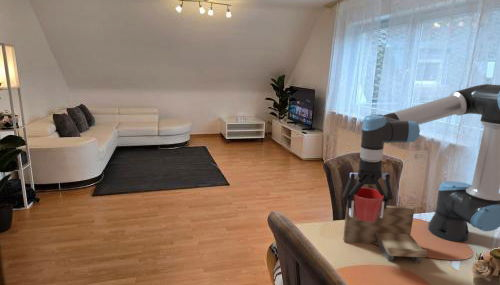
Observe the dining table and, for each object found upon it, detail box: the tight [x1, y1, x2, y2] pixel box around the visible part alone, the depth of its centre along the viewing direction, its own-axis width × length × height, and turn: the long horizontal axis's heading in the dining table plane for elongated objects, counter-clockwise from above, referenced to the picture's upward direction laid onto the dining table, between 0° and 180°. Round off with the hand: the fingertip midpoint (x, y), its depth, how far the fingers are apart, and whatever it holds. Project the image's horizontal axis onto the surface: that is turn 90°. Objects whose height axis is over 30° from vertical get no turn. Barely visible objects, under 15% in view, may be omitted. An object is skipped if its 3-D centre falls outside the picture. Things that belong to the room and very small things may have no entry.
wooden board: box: [342, 205, 415, 245], centre depth 129 cm, size 26×2×16 cm, turn 88°
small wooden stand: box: [376, 233, 428, 263], centre depth 122 cm, size 13×14×6 cm
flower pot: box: [353, 187, 384, 222], centre depth 118 cm, size 11×11×10 cm
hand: (365, 216), depth 119 cm, fingers closed on flower pot, 10 cm apart
